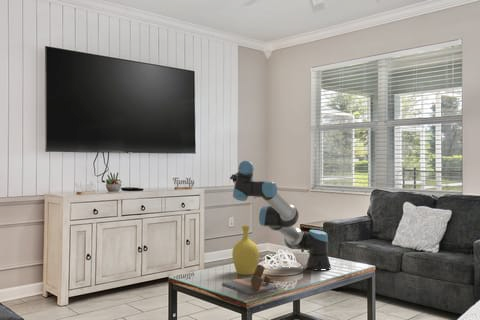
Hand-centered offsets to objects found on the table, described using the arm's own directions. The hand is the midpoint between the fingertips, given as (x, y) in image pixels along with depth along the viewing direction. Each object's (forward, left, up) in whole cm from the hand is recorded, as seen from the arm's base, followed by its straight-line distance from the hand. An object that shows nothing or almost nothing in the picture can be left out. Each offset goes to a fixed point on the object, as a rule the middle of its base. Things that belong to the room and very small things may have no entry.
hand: (245, 190), depth 262 cm
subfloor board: (+11, +17, -50) cm, 54 cm away
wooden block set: (+10, +24, -49) cm, 55 cm away
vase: (-7, -9, -50) cm, 52 cm away
